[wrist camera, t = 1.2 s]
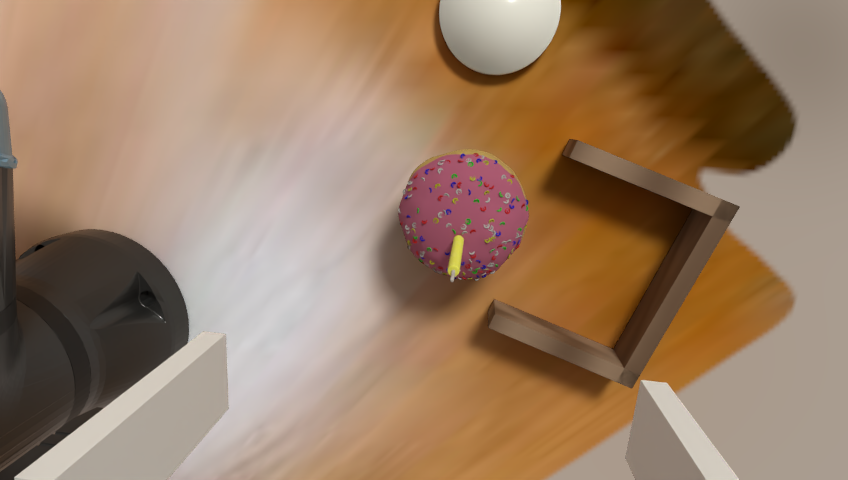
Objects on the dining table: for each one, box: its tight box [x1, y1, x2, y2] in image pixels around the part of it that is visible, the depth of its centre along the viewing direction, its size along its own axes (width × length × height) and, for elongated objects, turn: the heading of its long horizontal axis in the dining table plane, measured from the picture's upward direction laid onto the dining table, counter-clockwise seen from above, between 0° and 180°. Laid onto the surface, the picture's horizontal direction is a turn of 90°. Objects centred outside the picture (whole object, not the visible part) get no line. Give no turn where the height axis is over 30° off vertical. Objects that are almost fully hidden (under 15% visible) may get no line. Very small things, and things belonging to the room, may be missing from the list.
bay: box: [488, 139, 739, 388], centre depth 34 cm, size 11×14×3 cm
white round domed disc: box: [439, 0, 561, 75], centre depth 32 cm, size 8×8×1 cm
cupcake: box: [398, 149, 529, 282], centre depth 30 cm, size 9×8×12 cm
